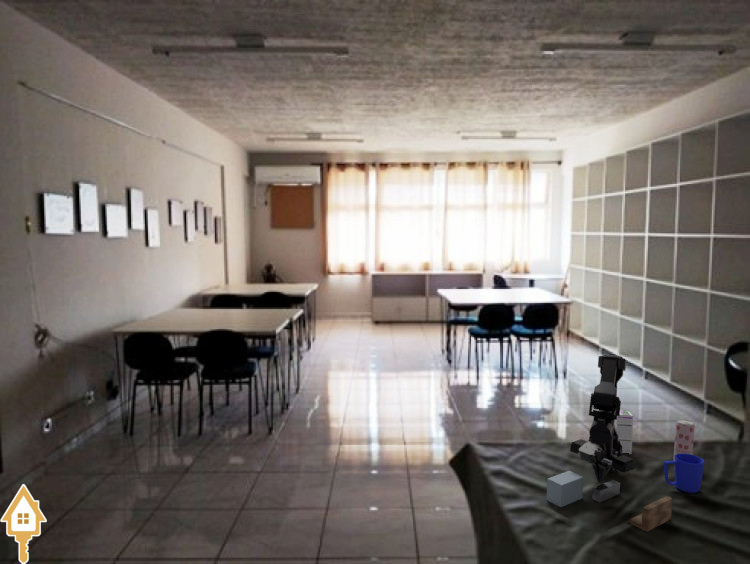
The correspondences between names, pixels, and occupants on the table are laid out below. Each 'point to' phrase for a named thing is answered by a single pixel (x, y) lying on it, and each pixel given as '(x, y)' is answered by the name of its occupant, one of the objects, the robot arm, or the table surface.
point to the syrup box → (625, 430)
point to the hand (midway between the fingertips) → (600, 482)
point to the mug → (686, 472)
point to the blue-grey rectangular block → (564, 488)
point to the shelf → (653, 514)
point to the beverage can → (684, 437)
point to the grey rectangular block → (606, 491)
